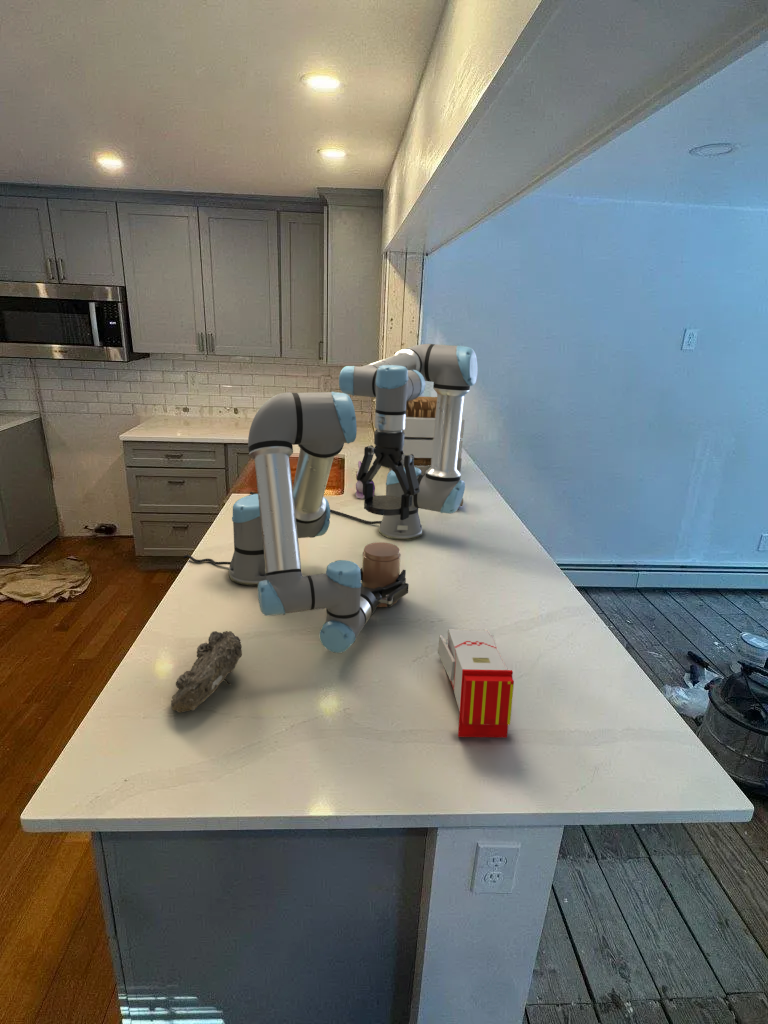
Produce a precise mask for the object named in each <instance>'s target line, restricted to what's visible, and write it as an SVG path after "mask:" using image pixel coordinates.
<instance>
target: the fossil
mask: <svg viewBox="0 0 768 1024" xmlns="http://www.w3.org/2000/svg"><path fill="white" fill-rule="evenodd" d="M242 647H243V646H242V642H241V638H240V637H239V636H237V635H235V633H234V632H233V631H231V630H229V631H223V632H221V631H220V632H219V631H217V630H213V631H211V632H210V635H209V636H208V642H204V643H200V644H199V645H198V646H197V648H196V659H195V661H194V662H193V665H192V666H191V669H190V670H185V671H184V672H183V674H181V675H179V676H178V677H177V678H176V681H175V687H176V688H177V689H178V690H177V691H176V692H175V693H174V694H173V695H172V697H171V701H170V702H171V709H172V711H176V712H178V713H185V712H189V711H195V710H196V709H197V708H198V707H199V706H200V705H202V703H204V702H205V701H206V700H207V699H208V698H209V697H210V696H211V695H212V694H213V693H214V692H215V691H217V689H218V688H219V686H220V684H221V683H223V681H224V682H225V683H226V684H227V685H228V686H230V685H231V684H232V683H231V682H230V680H229V679H227V678H226V677H227V676H228V674H230V673H232V672H233V671H234V669H235V668H236V665H237V663H238V661H239V659H241V658H242V655H243V650H242V649H243V648H242Z"/></svg>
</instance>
